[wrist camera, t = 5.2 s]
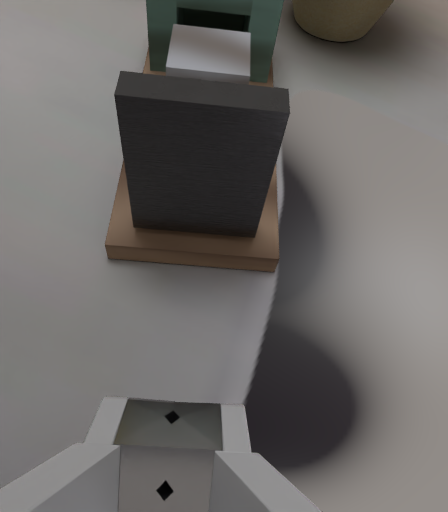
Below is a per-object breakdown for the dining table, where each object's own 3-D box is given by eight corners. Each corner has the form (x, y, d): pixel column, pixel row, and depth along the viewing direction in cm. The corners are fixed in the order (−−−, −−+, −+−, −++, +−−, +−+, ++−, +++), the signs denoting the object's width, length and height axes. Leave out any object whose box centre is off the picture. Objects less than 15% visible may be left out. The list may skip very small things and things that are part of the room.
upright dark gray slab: (255, 237, 25) (289, 113, 17) (133, 227, 24) (114, 94, 17) (254, 88, 32) (279, -47, 24) (160, 78, 32) (156, -63, 24)
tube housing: (274, 271, 26) (311, 177, 19) (108, 258, 26) (82, 155, 18) (268, 48, 38) (289, -62, 31) (155, 35, 38) (150, -79, 31)
